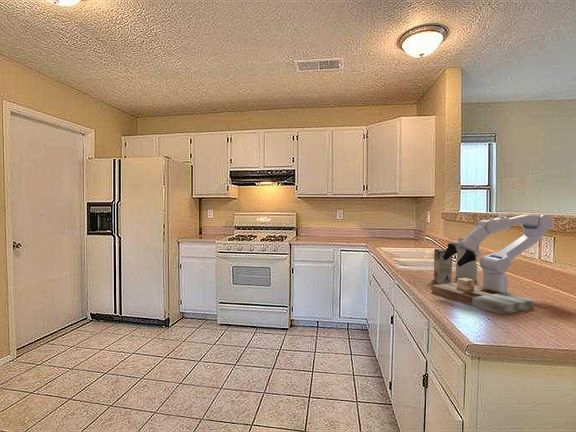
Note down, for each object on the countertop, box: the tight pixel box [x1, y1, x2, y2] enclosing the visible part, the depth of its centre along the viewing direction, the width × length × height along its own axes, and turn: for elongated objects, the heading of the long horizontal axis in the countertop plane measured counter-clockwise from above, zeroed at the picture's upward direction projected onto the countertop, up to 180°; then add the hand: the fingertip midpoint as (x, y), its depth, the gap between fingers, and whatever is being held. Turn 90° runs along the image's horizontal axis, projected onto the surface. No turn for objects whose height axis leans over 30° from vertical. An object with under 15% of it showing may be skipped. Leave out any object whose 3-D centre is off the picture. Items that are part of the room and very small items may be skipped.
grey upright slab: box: [455, 236, 480, 282], centre depth 162 cm, size 11×4×22 cm, turn 51°
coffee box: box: [433, 248, 453, 285], centre depth 155 cm, size 9×6×16 cm
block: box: [456, 278, 475, 290], centre depth 132 cm, size 4×4×4 cm
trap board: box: [431, 281, 534, 315], centre depth 126 cm, size 18×30×3 cm, turn 23°
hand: (451, 261), depth 134 cm, fingers open, 7 cm apart
